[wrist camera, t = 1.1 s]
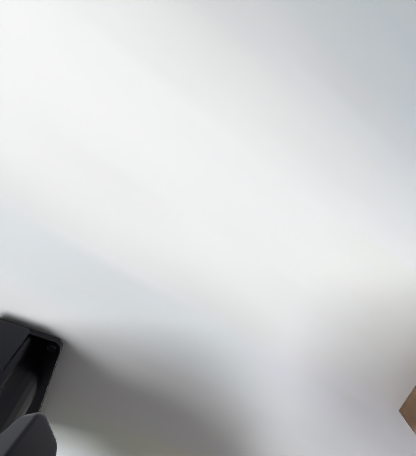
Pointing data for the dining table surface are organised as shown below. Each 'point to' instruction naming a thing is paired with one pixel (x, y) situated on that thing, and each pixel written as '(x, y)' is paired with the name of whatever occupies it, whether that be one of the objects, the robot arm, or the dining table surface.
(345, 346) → the dining table surface
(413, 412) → the brown bevelled block
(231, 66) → the dining table surface
